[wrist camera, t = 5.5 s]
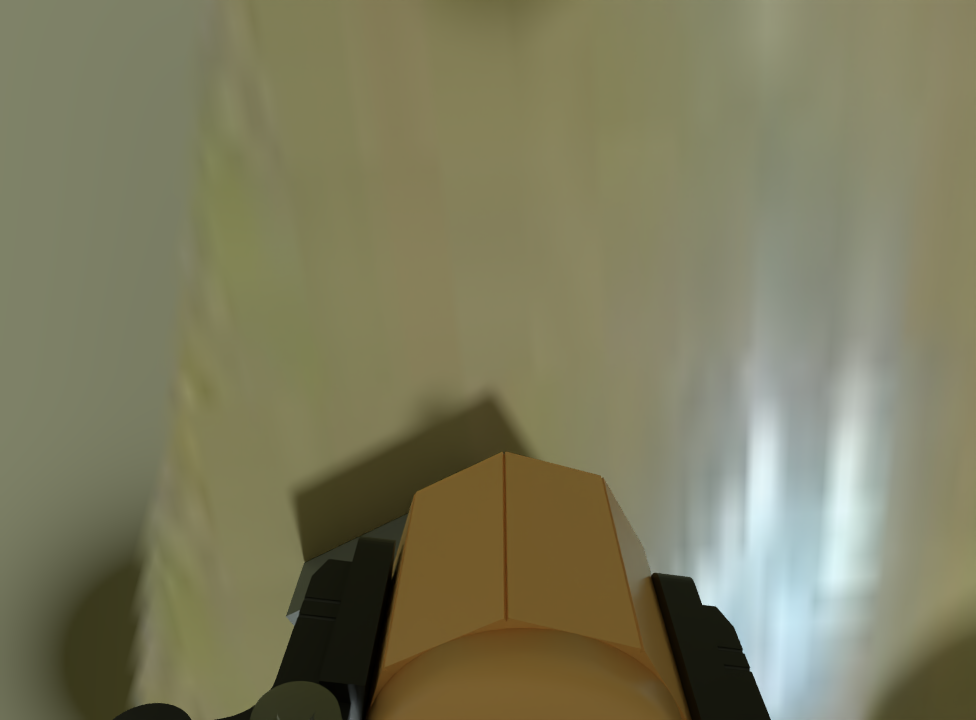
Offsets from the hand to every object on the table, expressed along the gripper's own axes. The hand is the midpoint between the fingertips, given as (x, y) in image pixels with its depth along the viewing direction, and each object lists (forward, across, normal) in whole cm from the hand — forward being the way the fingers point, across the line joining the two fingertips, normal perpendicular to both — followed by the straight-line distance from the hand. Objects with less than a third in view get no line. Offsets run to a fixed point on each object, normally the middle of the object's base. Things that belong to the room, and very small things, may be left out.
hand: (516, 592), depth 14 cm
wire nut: (+1, 0, 0) cm, 1 cm away
